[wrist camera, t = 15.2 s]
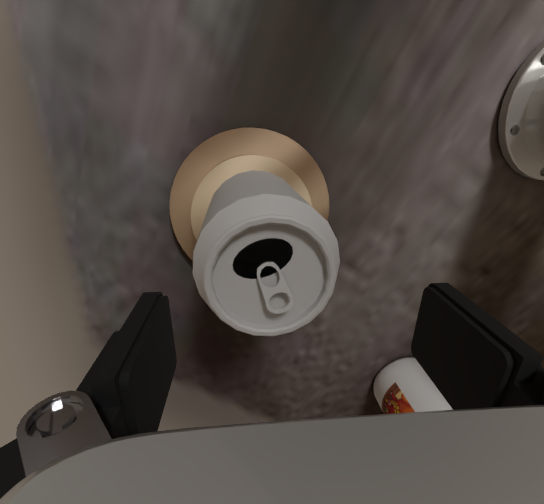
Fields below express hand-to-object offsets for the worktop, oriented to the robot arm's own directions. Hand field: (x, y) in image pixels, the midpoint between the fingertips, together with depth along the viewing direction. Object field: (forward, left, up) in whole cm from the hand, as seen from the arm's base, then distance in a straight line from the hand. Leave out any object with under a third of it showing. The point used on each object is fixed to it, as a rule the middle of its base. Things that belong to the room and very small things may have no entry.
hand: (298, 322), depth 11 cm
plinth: (0, +1, -18) cm, 18 cm away
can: (+1, 0, -15) cm, 15 cm away
